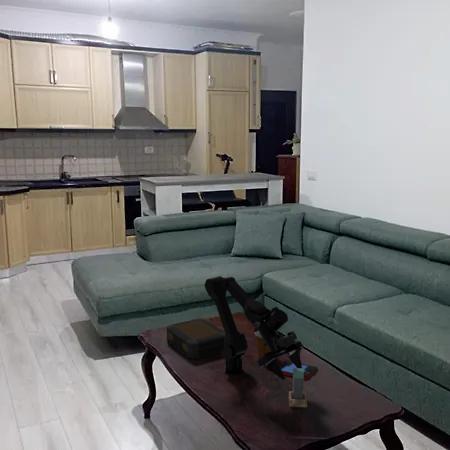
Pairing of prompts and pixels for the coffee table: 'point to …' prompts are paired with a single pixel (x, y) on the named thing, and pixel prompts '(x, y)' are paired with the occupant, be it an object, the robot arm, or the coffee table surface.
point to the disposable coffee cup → (261, 345)
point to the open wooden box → (297, 400)
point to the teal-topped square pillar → (298, 383)
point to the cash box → (196, 338)
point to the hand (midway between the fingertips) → (293, 375)
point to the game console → (288, 366)
